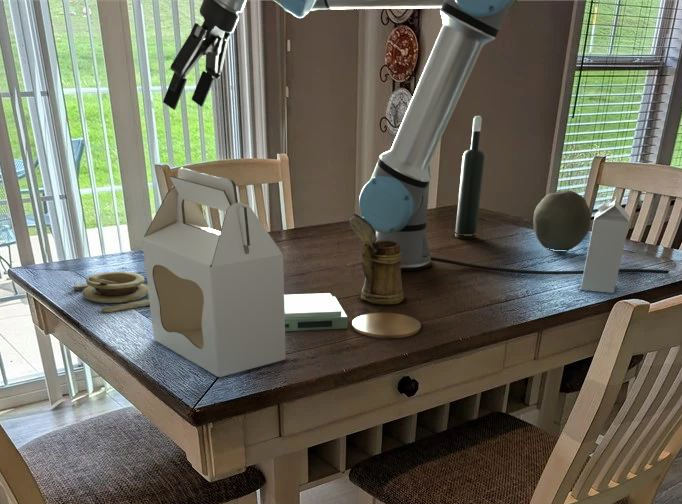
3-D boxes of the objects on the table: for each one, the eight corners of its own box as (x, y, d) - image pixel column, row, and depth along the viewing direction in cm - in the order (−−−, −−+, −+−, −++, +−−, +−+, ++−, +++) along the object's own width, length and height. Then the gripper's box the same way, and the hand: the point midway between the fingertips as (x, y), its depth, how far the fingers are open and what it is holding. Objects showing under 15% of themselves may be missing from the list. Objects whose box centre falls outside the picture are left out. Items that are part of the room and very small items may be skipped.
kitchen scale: (334, 307, 147) (334, 292, 145) (347, 328, 136) (348, 313, 134) (265, 310, 145) (265, 295, 143) (273, 332, 134) (272, 316, 132)
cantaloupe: (533, 244, 198) (542, 184, 190) (586, 249, 193) (598, 189, 185) (524, 255, 186) (533, 193, 178) (581, 261, 182) (593, 198, 174)
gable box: (153, 339, 129) (131, 168, 114) (217, 325, 136) (205, 162, 121) (219, 379, 115) (205, 188, 100) (287, 360, 122) (283, 180, 107)
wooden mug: (336, 302, 150) (337, 210, 140) (381, 290, 158) (385, 202, 148) (367, 312, 144) (370, 217, 135) (412, 299, 152) (418, 208, 143)
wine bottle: (450, 236, 203) (462, 115, 187) (463, 233, 207) (476, 115, 191) (466, 240, 200) (479, 117, 184) (479, 237, 203) (493, 116, 187)
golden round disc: (410, 314, 144) (410, 311, 144) (429, 336, 133) (429, 333, 133) (345, 317, 142) (345, 314, 141) (360, 340, 131) (360, 336, 131)
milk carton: (614, 285, 164) (634, 196, 154) (613, 294, 159) (633, 201, 149) (582, 282, 166) (599, 193, 156) (580, 290, 161) (597, 198, 151)
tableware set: (101, 314, 140) (96, 283, 137) (69, 289, 154) (64, 260, 151) (238, 291, 155) (236, 262, 152) (198, 270, 169) (196, 243, 165)
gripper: (232, -4, 157) (194, 92, 169) (180, -14, 136) (140, 96, 148) (261, 18, 158) (220, 111, 169) (213, 11, 137) (171, 118, 149)
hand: (183, 104), depth 159 cm, fingers open, 13 cm apart
